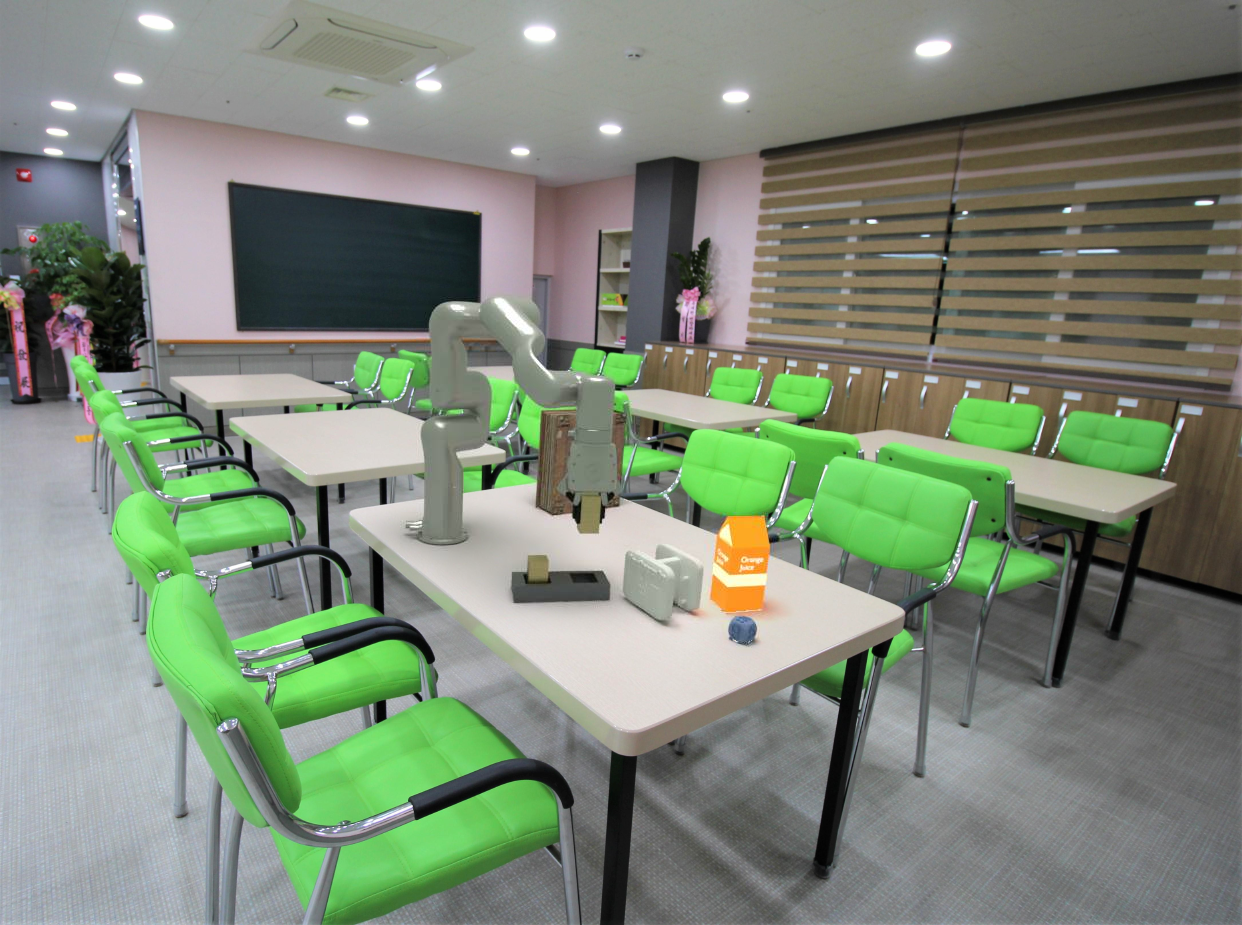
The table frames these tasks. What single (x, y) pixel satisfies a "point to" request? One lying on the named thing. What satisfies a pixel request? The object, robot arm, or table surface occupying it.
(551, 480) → the book
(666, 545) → the cable organizer
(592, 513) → the brass square peg
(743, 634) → the decorative dice
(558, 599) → the peg holder block
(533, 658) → the table surface
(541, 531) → the table surface
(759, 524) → the orange juice
